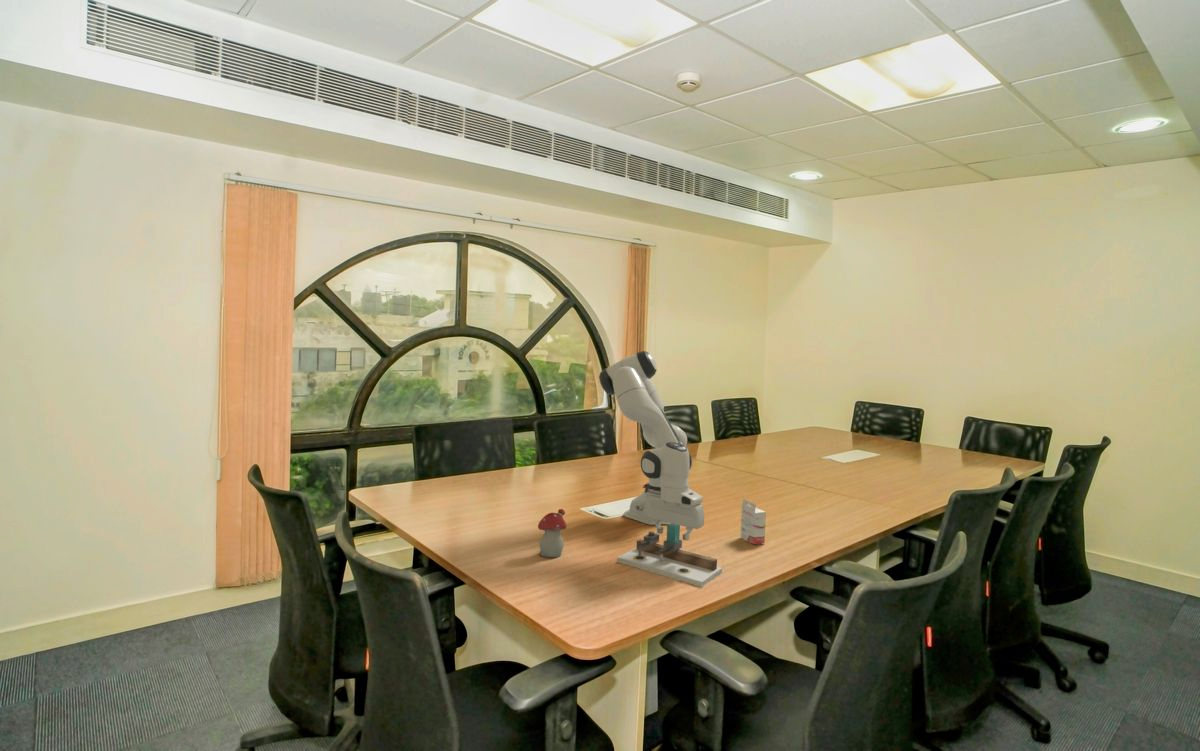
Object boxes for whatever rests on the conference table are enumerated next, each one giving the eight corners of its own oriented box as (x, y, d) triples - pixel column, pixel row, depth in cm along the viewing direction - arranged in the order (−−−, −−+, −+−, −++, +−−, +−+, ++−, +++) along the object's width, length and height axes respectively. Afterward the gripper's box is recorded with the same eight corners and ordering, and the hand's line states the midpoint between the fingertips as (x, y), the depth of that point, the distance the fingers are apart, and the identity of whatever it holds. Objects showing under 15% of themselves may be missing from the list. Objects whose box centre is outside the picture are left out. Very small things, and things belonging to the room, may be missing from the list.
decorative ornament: (565, 551, 198) (566, 507, 197) (566, 558, 192) (567, 512, 191) (537, 551, 197) (538, 507, 196) (537, 558, 191) (538, 512, 190)
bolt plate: (616, 561, 190) (617, 556, 190) (640, 550, 202) (640, 545, 202) (701, 586, 173) (702, 581, 173) (722, 572, 184) (722, 567, 184)
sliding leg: (655, 559, 186) (656, 529, 185) (670, 551, 194) (671, 522, 194) (666, 562, 184) (667, 532, 183) (681, 554, 192) (682, 524, 191)
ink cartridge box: (765, 544, 212) (767, 503, 211) (753, 545, 210) (755, 504, 209) (751, 536, 220) (753, 497, 219) (739, 537, 218) (741, 498, 217)
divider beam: (625, 554, 192) (626, 534, 192) (641, 546, 201) (642, 527, 200) (704, 577, 176) (705, 555, 176) (718, 567, 184) (719, 546, 184)
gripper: (641, 490, 193) (640, 531, 194) (698, 501, 181) (696, 546, 182) (651, 486, 198) (650, 527, 199) (707, 497, 186) (705, 540, 187)
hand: (672, 536), depth 191 cm, fingers open, 8 cm apart
